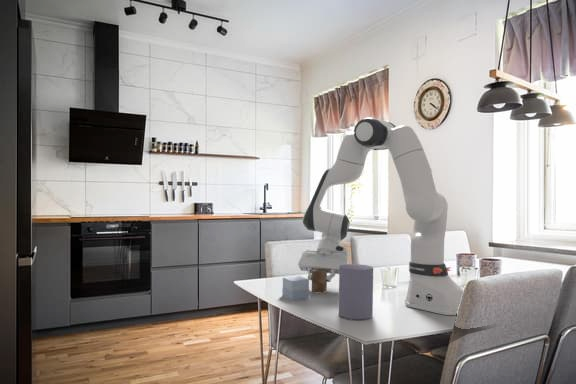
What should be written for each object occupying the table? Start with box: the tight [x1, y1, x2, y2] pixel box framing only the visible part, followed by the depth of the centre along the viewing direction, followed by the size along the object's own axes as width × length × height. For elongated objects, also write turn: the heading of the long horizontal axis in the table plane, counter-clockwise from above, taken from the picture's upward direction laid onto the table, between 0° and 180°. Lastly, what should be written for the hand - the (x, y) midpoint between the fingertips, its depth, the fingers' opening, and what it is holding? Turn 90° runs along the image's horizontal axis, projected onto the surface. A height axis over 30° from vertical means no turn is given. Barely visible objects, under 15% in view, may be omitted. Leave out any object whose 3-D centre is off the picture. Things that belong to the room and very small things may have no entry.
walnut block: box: [311, 269, 328, 294], centre depth 164 cm, size 4×4×8 cm
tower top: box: [282, 275, 310, 291], centre depth 154 cm, size 7×7×4 cm
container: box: [338, 263, 374, 321], centre depth 131 cm, size 10×10×15 cm
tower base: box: [282, 286, 310, 301], centre depth 154 cm, size 7×7×4 cm
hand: (318, 280), depth 164 cm, fingers open, 6 cm apart
